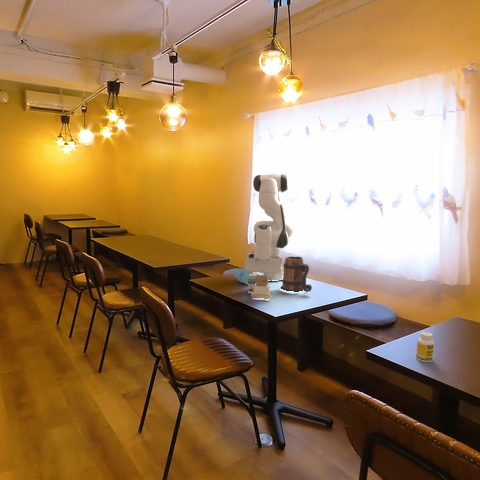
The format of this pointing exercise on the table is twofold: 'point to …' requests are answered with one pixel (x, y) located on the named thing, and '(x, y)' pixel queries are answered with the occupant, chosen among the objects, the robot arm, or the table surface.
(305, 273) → the tankard
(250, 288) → the light bulb box
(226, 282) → the table surface
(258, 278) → the walnut block
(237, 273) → the teapot
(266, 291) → the off-white middle block
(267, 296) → the oak base block
